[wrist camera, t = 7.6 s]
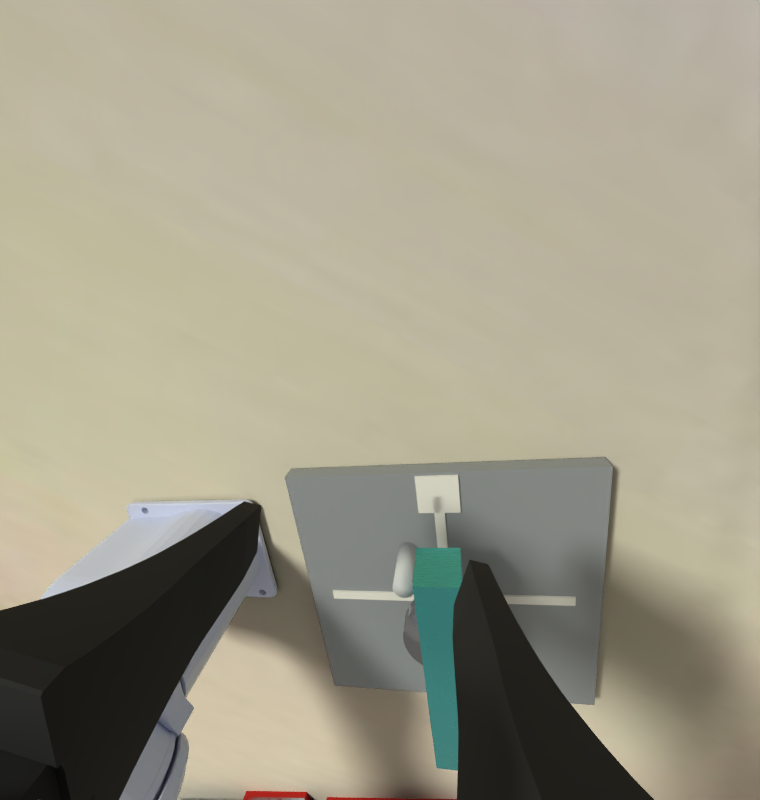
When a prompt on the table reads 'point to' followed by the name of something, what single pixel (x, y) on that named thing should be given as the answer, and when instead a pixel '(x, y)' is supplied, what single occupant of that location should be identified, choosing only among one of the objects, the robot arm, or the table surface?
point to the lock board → (478, 540)
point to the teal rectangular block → (436, 642)
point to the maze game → (305, 796)
